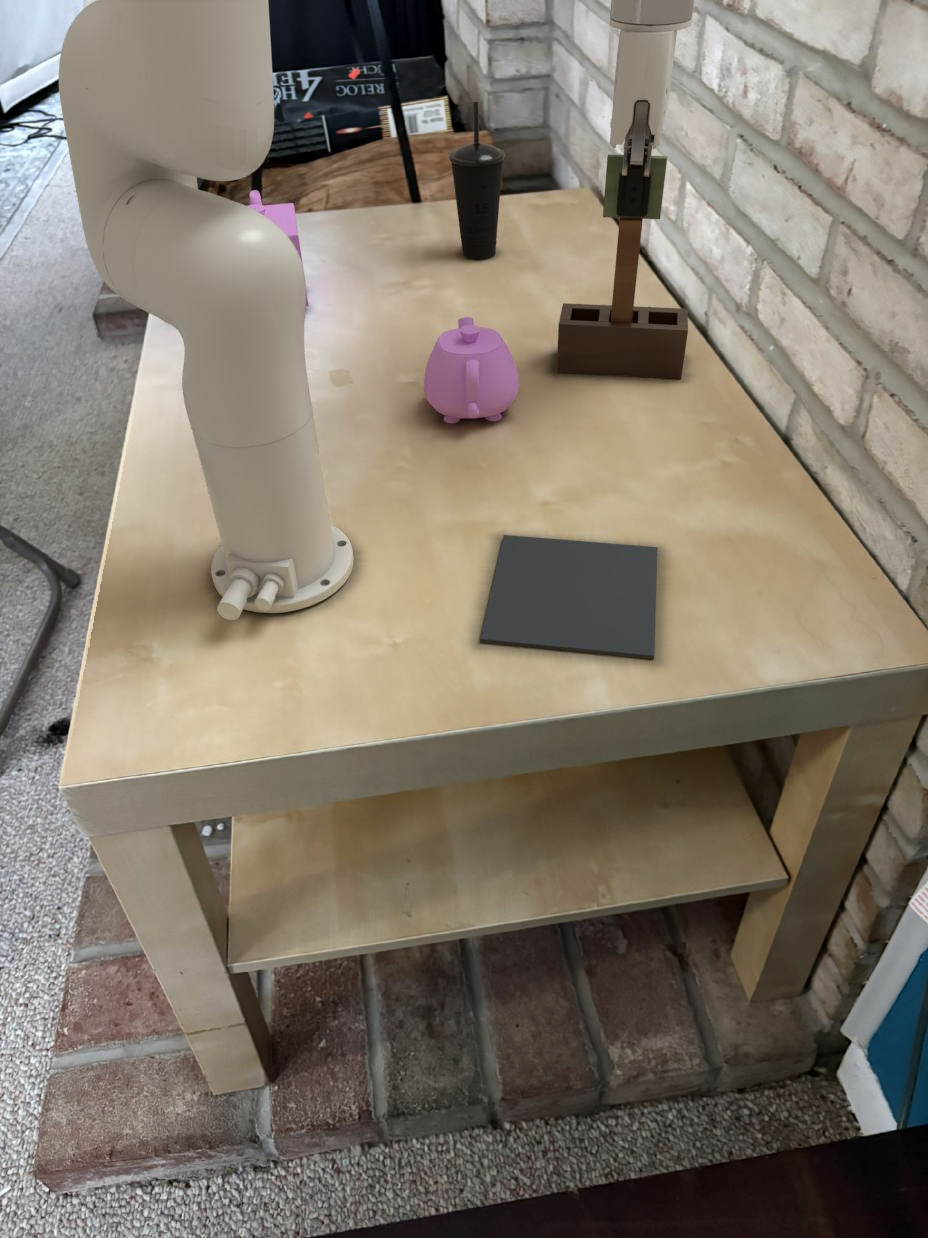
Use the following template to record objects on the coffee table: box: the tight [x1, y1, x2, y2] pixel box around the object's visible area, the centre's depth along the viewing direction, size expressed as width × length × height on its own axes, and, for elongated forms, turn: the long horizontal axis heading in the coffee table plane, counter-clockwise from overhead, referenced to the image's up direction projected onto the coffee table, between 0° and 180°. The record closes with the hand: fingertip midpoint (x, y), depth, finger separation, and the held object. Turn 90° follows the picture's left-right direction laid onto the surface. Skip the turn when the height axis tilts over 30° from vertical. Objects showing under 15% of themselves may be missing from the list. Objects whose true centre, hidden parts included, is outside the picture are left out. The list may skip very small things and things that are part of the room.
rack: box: [556, 302, 689, 380], centre depth 107 cm, size 6×14×6 cm, turn 80°
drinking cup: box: [448, 101, 506, 261], centre depth 129 cm, size 8×8×20 cm
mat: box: [479, 534, 658, 660], centre depth 79 cm, size 14×14×1 cm
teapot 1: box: [246, 189, 309, 307], centre depth 122 cm, size 20×10×12 cm, turn 10°
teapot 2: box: [423, 316, 520, 424], centre depth 100 cm, size 10×15×9 cm
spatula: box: [602, 154, 668, 323], centre depth 100 cm, size 2×6×19 cm, turn 80°
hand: (631, 211), depth 97 cm, fingers closed on spatula, 1 cm apart
